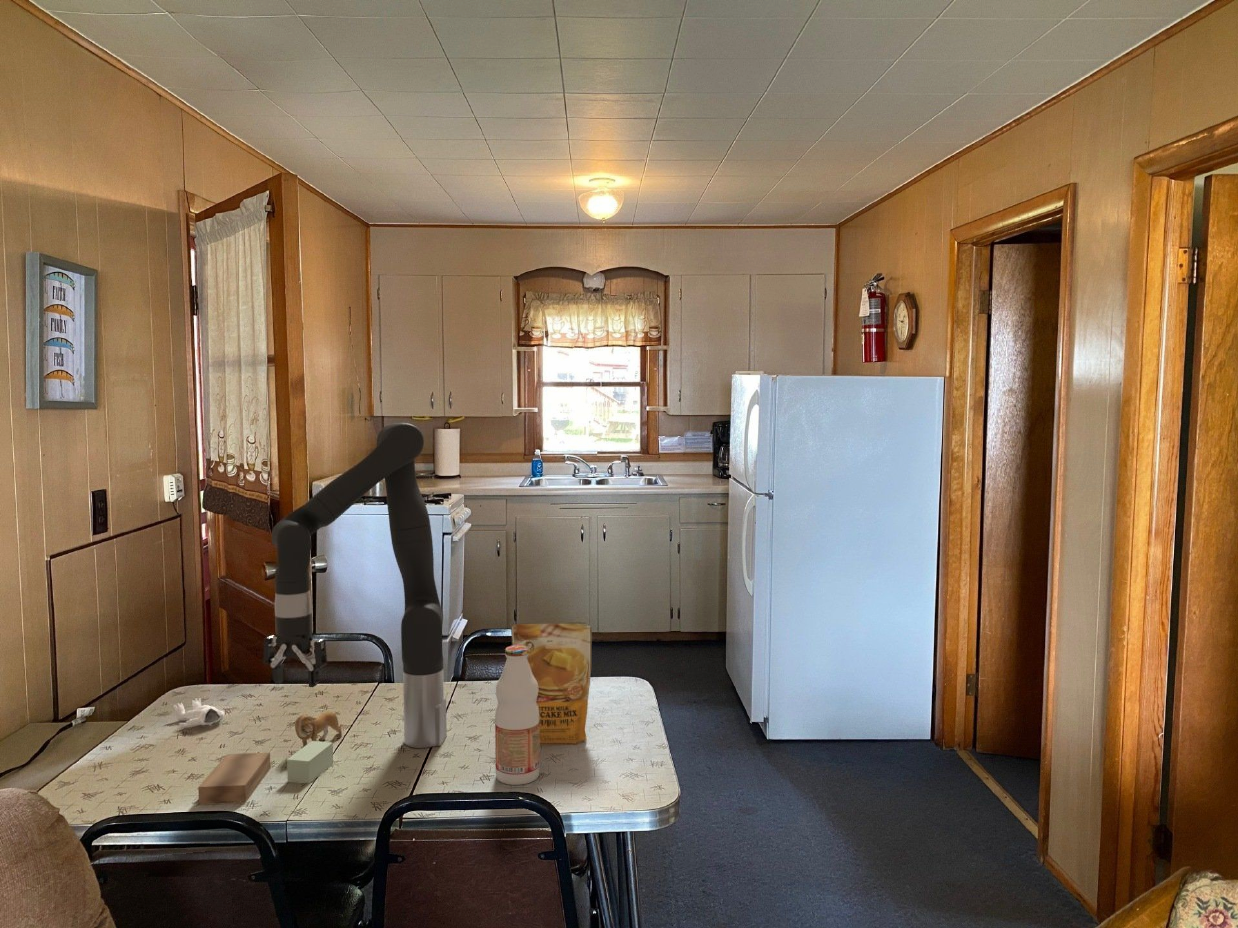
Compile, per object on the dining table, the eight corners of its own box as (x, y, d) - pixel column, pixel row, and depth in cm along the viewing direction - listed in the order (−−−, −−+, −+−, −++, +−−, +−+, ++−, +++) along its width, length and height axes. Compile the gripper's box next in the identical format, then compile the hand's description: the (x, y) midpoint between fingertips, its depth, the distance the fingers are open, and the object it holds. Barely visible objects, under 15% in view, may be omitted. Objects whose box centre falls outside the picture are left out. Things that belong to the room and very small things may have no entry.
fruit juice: (506, 789, 178) (505, 657, 176) (488, 773, 186) (487, 645, 184) (547, 779, 183) (546, 650, 181) (527, 763, 191) (527, 639, 189)
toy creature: (209, 693, 223) (232, 692, 216) (212, 717, 223) (236, 717, 216) (161, 707, 214) (184, 706, 207) (165, 731, 213) (188, 731, 206)
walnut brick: (270, 770, 188) (270, 752, 188) (245, 804, 173) (245, 784, 172) (227, 771, 188) (227, 753, 187) (199, 806, 172) (198, 786, 171)
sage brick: (333, 764, 191) (332, 742, 191) (309, 784, 181) (308, 761, 181) (312, 762, 192) (311, 740, 191) (287, 782, 182) (286, 759, 182)
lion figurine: (309, 758, 194) (308, 719, 193) (289, 755, 195) (288, 716, 195) (347, 734, 208) (346, 697, 207) (328, 731, 209) (327, 695, 209)
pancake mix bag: (513, 734, 208) (512, 620, 205) (592, 734, 208) (592, 619, 206) (510, 745, 201) (509, 627, 199) (592, 745, 201) (591, 627, 199)
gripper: (332, 609, 189) (334, 681, 190) (275, 605, 193) (278, 676, 194) (312, 618, 182) (314, 693, 183) (253, 614, 186) (256, 687, 187)
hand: (295, 684), depth 189 cm, fingers open, 8 cm apart
